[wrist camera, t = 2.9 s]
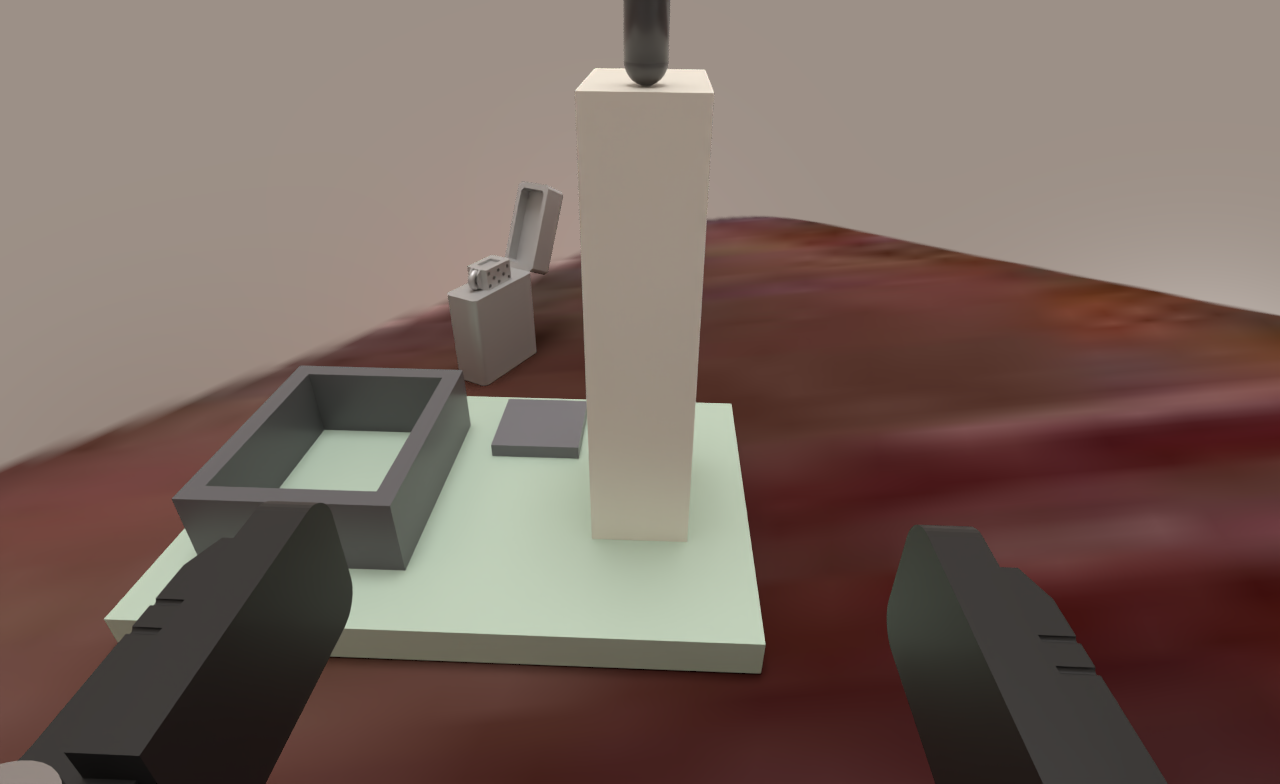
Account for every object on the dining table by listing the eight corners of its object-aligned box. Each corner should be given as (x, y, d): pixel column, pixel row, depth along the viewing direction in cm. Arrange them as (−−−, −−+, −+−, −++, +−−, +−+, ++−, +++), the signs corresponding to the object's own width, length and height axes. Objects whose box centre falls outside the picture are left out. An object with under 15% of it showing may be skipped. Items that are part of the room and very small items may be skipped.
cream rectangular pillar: (684, 456, 25) (715, -114, 16) (687, 542, 21) (728, -144, 12) (603, 453, 25) (590, -115, 16) (591, 538, 21) (565, -144, 12)
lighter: (485, 386, 32) (464, 217, 27) (457, 377, 32) (432, 211, 28) (570, 328, 37) (563, 179, 33) (544, 322, 38) (534, 175, 34)
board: (728, 427, 29) (735, 350, 27) (760, 673, 19) (775, 577, 17) (313, 415, 29) (291, 339, 27) (121, 647, 19) (64, 552, 17)
